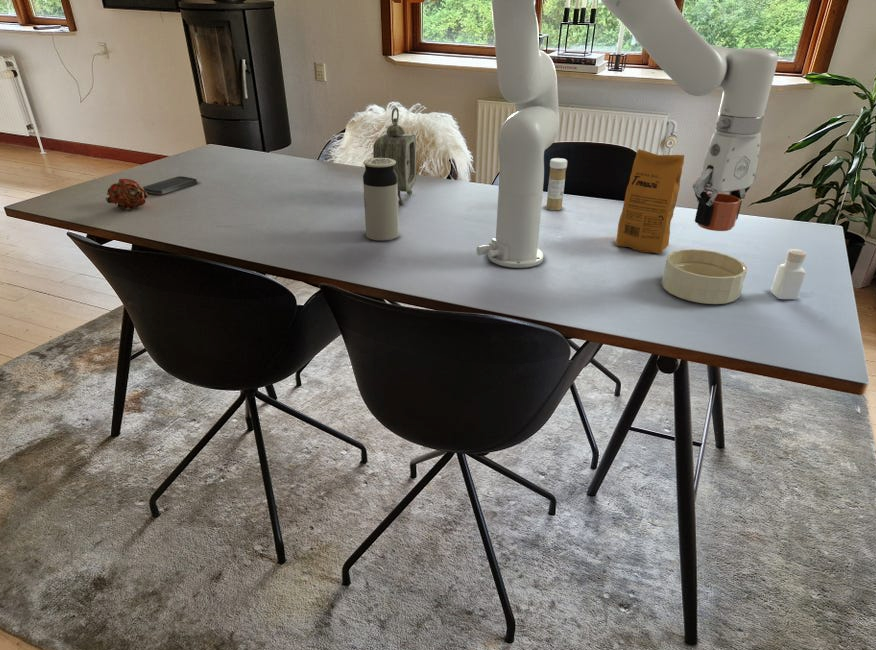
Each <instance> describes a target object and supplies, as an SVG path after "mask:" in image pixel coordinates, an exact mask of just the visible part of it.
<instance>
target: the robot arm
mask: <svg viewBox="0 0 876 650" xmlns="http://www.w3.org/2000/svg"><path fill="white" fill-rule="evenodd" d="M536 1H537V0H490V4H491V5H490V7H491V16H492V24H493V25H492V26H493V35H494V37H493V38H494V47H495V48H494V50H495V60H496V62H495V63H496V70H497V71H496V72H497V84H498V88H499V92H500V94H501V96H502V97H503V98H504V99H505V100H506V101H507V102H509V103H511V104H514V108H515V112H514V113H512V114H511V115H510V116H509V117H508V118H506V120H504V122H503V124H502V125H501V128H500V130H499V133H498V139H497V150H498V151H497V152H498V166H499V167H498V168H499V169H498V170H499V171H498V193H497V194H498V195H497V208H496V209H497V210H496V229H495V237H492V238H491V241H490V242H489V243H488V244H487V245H479V246H477V247H476V254H477V255H478V256H482V255H483V256H484V255H487V257H488V260H490V262H492V263H493V264H496V265H498V266H501V267H506V268H514V269H526V268H532V267H535V266H538V265H540V264H541V263H543V262H544V258H545V257H544V252H543V251H542V250H540V249H539V248H538V247H539V237H540V227H541V216H542V204H543V197H544V195H543V193H544V182H545V151H546V150H547V149H548V148H550V147H551V146H552V145H553V143H554V142H555V141H556V139H557V137H558V135H559V131H560V110H559V109H560V108H559V92H558V77H557V70H556V67H555V64H554V63H555V62H553V59H552V57H551V56H550V55H548V53H546V52H545V51H543V50H541V49H540V39H539V37H540V36H539V23H538V22H539V21H538V16H537V12H536ZM598 1H599V2H600V3H601V4H602V5H603V6H604V7H605V9H607V10H608V11H609V12H610V13H611V14H612V15H613V16H614V17H615V18H616V19H617V21H618V22H620V24H621V25H622V26H624V28H626V30H627V31H628V32H629V33H630V34H631V35H632V37H633V38H634V40H635V41H636V42H637V43H638V44H639V45H640V46H641V47H642V48H643V49H644V50H645V52H646V53H647V54H648V55H649V56H650V58H651V59H652V60H653V62H654V63H656V65H657V66H658V67H659V68H660V69H661V70H662V71H663V72H664V73H665V74H666V75H667V76H668V77H669V78H670V79H671V80H672V81H673V82H674V83H675V84H676V86H678V87H679V88H680V89H681V90H682V91H683V92H685V93H686V94H688V95H691V96H694V97H702V96H707V95H709V94H711V93H713V92H714V91H716V90H722V96H721V100H720V104H719V109H718V114H717V119H716V122H715V123H716V124H715V128H714V132H713V134H712V136H711V139H710V142H709V145H708V148H707V151H706V153H705V158H704V161H703V165H702V168H701V173H700V177H698V179H696V181H695V182H694V183H693V184H692V189H693V192H694V195H695V197H696V203H697V207H696V208H697V209H696V213H695V216H694V217H695V218H694V222H695V224H697V225H698V224H701V225H704V226H709V225H710V222H711V218H712V214H713V210H714V206H713V205H712V204H713V202H714V200H715V198H716V196H717V194H718V193H723V194H725V193H728V194H729V195H733V196H736V197H738V198H740V200H741V202H740V206H739V210H738V214H737V218H736V221H737V220H738V219H739V214H740V210H741V206H742V203H743V200H744V199H745V198H746V194H747V192H748V191H749V190H750V188H751V186H753V184H754V181H755V180H756V179H757V174H756V173H757V168H758V163H759V158H760V150H761V143H762V133H761V130H762V129H761V128H762V126H763V121H764V117H765V114H766V109H767V106H768V105H767V104H768V101H769V97H770V93H771V90H772V85H773V81H774V77H775V74H776V70H777V65H778V61H779V56H778V53H777V52H776V51H775V50H773V49H769V48H758V47H757V48H755V47H746V48H731V47H726V46H722V45H716V44H710V43H709V42H708V41H707V40H706V39H705V38H704V37H703V36H702V35H701V34H700V33H699V32H698V31H697V30H696V29H695V27H694V26H692V24H691V23H690V22H689V21H688V20H687V19H686V18H685V16H684V15H683V14H682V12H681V10H680V9H679V8H678V5H677V3H676V1H675V0H598ZM707 193H711V194H710V196H708V195H707Z"/></svg>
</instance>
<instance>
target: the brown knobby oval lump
mask: <svg viewBox="0 0 876 650" xmlns="http://www.w3.org/2000/svg"><path fill="white" fill-rule="evenodd" d="M142 187H143V186H141V184H139V183H138V181H135V180H134V179H132V178H119V179H118V181H117V183H112V184H111V185H110V186H109V188H108V189H107V191H106V196H107V197H105V200H106V202H107V203H108V204H114V205H117V207H118V208H119V209H120V210H123V211H124V210H127V209H130V210H138V209H139V208H140V206H144V205H145V204H146V200H147V198H148V197H149V195H148V193H147V192H146V191H145V190H144V189H143V188H142Z"/></svg>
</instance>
